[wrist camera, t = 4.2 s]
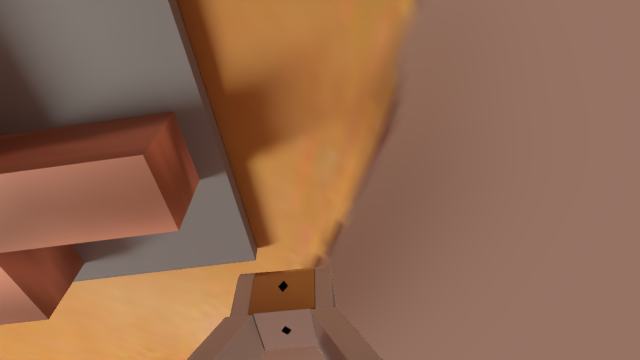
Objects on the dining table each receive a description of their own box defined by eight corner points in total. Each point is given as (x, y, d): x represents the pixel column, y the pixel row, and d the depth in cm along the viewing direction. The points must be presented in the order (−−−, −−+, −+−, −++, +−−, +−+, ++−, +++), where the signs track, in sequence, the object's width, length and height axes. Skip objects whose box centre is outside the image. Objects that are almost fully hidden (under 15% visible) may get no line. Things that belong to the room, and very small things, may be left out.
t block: (-173, 44, 16) (-302, 77, 12) (128, -4, 15) (77, 17, 12) (23, 270, 23) (-22, 327, 20) (225, 246, 23) (212, 300, 20)
